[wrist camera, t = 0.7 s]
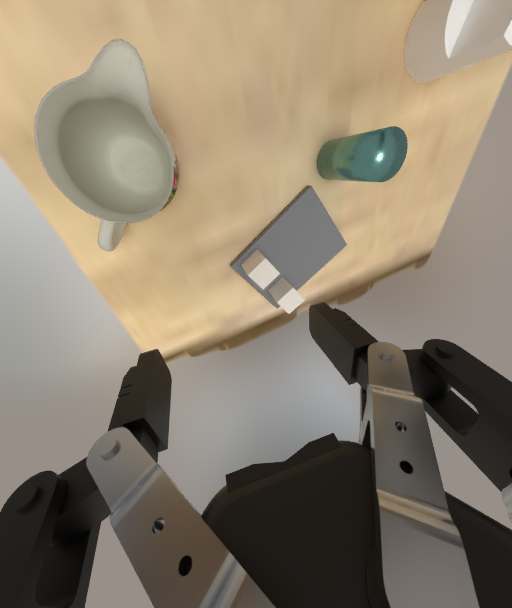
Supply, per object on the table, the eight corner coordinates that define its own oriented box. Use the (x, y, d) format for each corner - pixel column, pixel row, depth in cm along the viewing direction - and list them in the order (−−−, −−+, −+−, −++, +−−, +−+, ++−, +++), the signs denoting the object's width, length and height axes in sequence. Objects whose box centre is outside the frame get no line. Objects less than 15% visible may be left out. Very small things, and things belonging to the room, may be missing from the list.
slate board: (307, 185, 38) (311, 186, 36) (342, 242, 45) (347, 244, 44) (229, 264, 41) (231, 267, 39) (274, 305, 48) (277, 308, 47)
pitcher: (79, 220, 31) (20, 247, 20) (99, 65, 25) (28, -26, 13) (160, 247, 36) (150, 281, 25) (195, 123, 30) (202, 93, 18)
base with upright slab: (427, -23, 29) (556, -126, 19) (469, 10, 32) (600, -64, 22) (394, 70, 33) (485, 26, 23) (434, 92, 36) (530, 61, 26)
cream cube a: (282, 276, 43) (293, 287, 39) (293, 288, 46) (304, 299, 41) (268, 290, 44) (276, 302, 40) (279, 301, 46) (289, 314, 42)
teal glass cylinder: (337, 130, 35) (399, 113, 25) (352, 162, 38) (412, 158, 28) (310, 158, 36) (360, 152, 26) (327, 187, 39) (376, 192, 29)
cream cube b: (256, 248, 39) (265, 257, 35) (270, 263, 41) (280, 273, 37) (241, 264, 40) (247, 275, 36) (255, 278, 42) (263, 289, 38)
